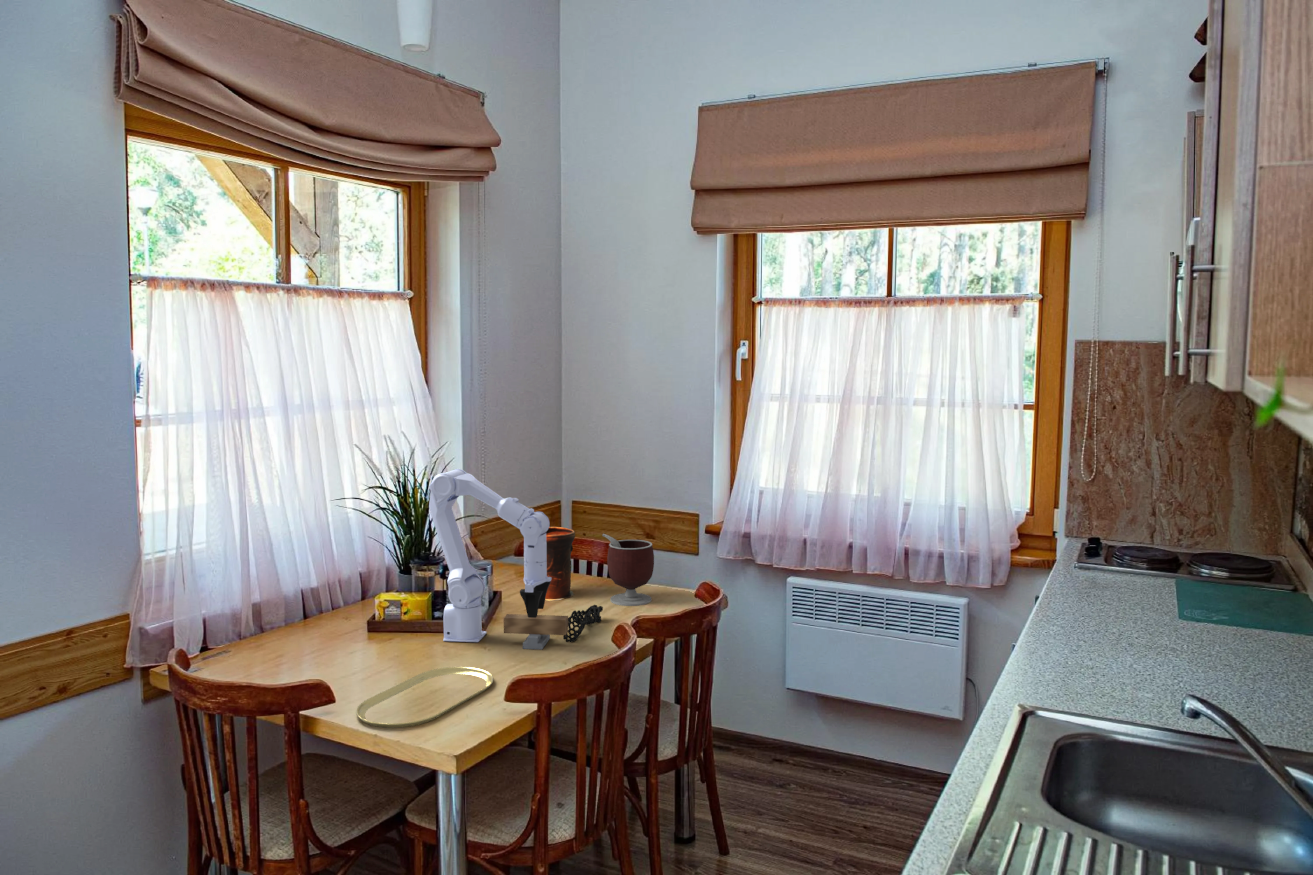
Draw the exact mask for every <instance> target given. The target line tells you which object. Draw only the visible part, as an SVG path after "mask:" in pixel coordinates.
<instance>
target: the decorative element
mask: <svg viewBox="0 0 1313 875" xmlns="http://www.w3.org/2000/svg"><path fill="white" fill-rule="evenodd" d="M603 610H604V607H603V606H602V605H599V606H598V605H597V604H593V605H590V606H589V607H588V608H587V609H586V610H583V609H582V610H580V609H579V610H573V611H572V612H571V614H570V615H569V616H568V632H567V634H566V635H562V636H563V640H565V642H566V643H568V642H569V643H573V642H575V641H576V640H577V639H578V638H579V637H580V636H581V634H582V632H583V631H584V629H585V627H586V625H588V626H590V625H593V624H596V623H600V624H601V622H602V616H601V612H603ZM571 625H572V627H571ZM576 628H577V629H576ZM571 631H572V632H571Z"/></svg>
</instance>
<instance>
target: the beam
mask: <svg viewBox="0 0 1313 875" xmlns="http://www.w3.org/2000/svg"><path fill="white" fill-rule="evenodd" d="M568 618H569V615H550V614H547V615H546V614H545V615H543V614H537V617H536V618H531V617H528V615H527V614H518V613H507V614H506V615H505V616H504V617H503V634H510V635H511V634H516V635H529V634H542V635H550V636H563V635H566V634H568V633H567V632H568V630H569V627H568Z"/></svg>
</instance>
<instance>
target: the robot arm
mask: <svg viewBox="0 0 1313 875" xmlns="http://www.w3.org/2000/svg"><path fill="white" fill-rule="evenodd" d="M428 487H429V488H428V489H429V490H430V494H429V495H430V496H429V503H428V509H429V512H430V515H431V517H432V518H431V519H432V521H433V526H434V527H435V530H436V533H437V537H438V540H439V543H440V546H441V549H442V552H443V554H444V555H443V556H444V558H445V561H446V563H447V568H448V570H449V575H448V578H447V581H446V582H447V585H448V586H447V587H448V594H447V595H448V600H449V602H450V603H447V604H446V605H445V607H444V609H443V615H442V616H443V618H442V619H443V621H442V622H443V639H442V640H443V642H463V643H465V642H466V643H479V642H480V641H481V640H482V639H483V638H484V637H485V636H486V634H487V633H488V632H487V631H485V630H482V629H483V628H482V623H483V622H482V596H484V594H485V591H486V584H485V582H484V580H483V579H482V578H481V577H480V576H479V573H478V570H477V569H476V568H475V567H473V566H472V565H471V564H470V560H469V558H468V554H467V552H466V548H465V545H464V542H463V539H462V536H461V532H460V530H459V527H458V524H457V521H456V517H455V515H454V511H453V506H454V504H455V503H456V501H457V500H458V498H459V497H461V496H471V497H473V498H474V499H476V500H479V501H481V502H482V503H484V504H485V505H487V506H489V507H491V508H493V509H495V510H496V512H497V516H498V517H499V518H500V519H502V520H504V521H506V522H507V523H509V524H511V525H512V526H514V527H515V528H517V529H518V530H519V531H520V534H521V535H522V537H523V581H522V582H523V583H524V588H521V589H520V590H519V595H520V596H521V598H522V601H523V602H524V605H525V610H526V615H528V617H531V618H536V617H537V615H539V614H538V612H539V610H543V609H544V608H545V603H546V600H545V598H546V593H547V590H548V587H549V585H550V583H551V577H547V543H546V533H545V532H546V531H547V530H548V529H549V527H551V526H550V519H549V517H548V516H547V515H546V514H545V513H544V512H543V511H535V509H534V508H533V507H527V506H526V505H524V504H523V503H521V502H519V501H520V499H519V498H517V497H511V496H510V497H506V498H504V497H502V496H501V495H500V494H498V493H497V492H496V491H494V490H492V488H490V487H488V486H487V485H485V484H484V483H482V482H481V481H480V480H478V479H477V478H476V477H475V476H474V475H473V474H471V473H469V472H466V471H465V470H464V469H462V468H455V469H452V470H449V471H447V472H441V473H438V474H437V475H435V476H434V477H433V479H432V480H431V482H430V484H429V485H428ZM544 533H545V534H544ZM542 534H543V535H542Z"/></svg>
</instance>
